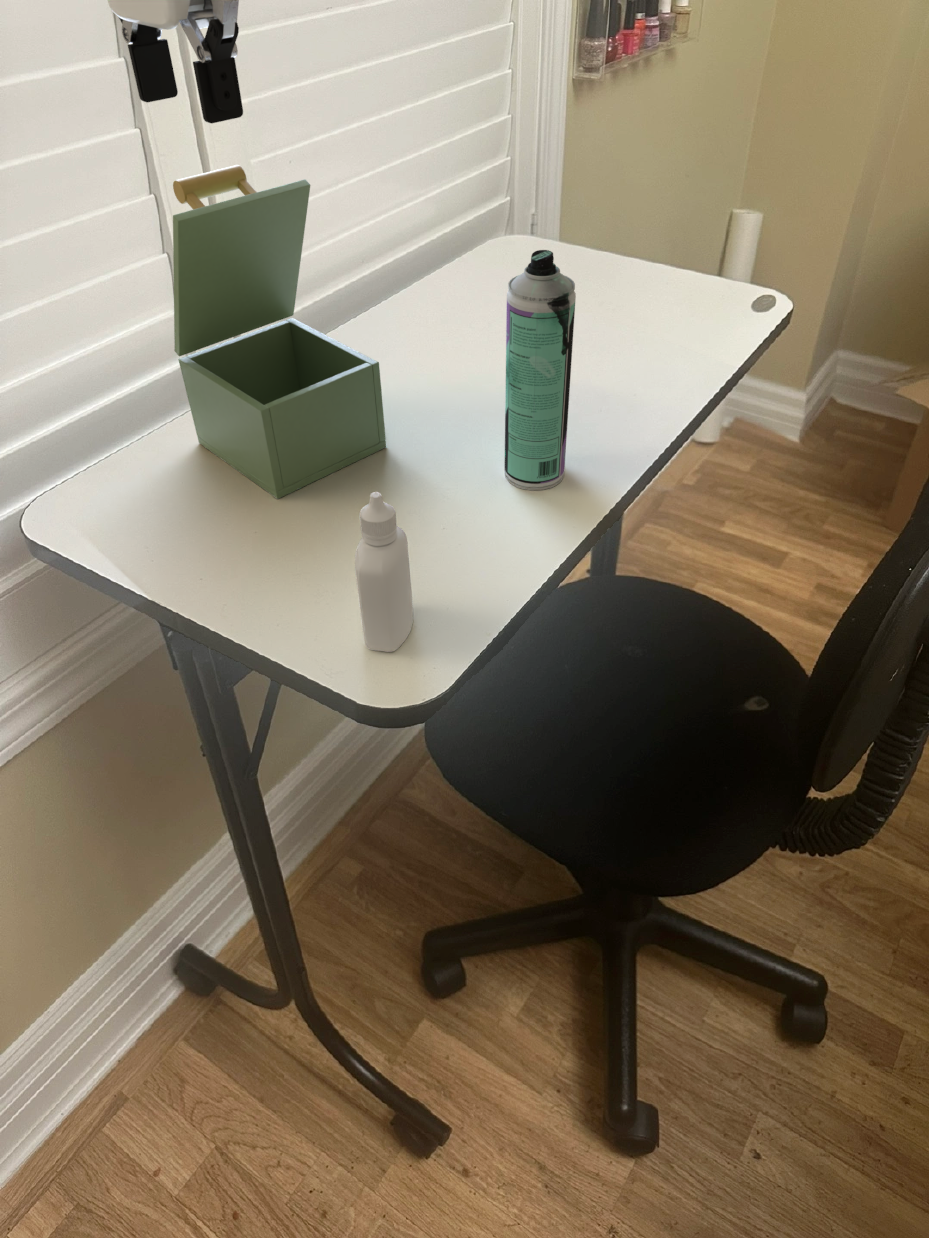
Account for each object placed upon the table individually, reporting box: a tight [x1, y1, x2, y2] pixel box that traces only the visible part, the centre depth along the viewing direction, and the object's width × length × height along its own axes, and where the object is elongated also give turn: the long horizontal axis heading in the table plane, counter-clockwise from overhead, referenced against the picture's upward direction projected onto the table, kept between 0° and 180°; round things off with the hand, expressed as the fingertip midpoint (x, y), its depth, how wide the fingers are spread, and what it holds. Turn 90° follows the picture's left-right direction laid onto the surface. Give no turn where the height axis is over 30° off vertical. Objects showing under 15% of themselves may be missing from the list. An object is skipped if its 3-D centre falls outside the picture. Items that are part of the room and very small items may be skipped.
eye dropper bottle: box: [354, 491, 414, 653], centre depth 64 cm, size 4×6×12 cm
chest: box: [178, 317, 387, 500], centre depth 85 cm, size 14×13×9 cm
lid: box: [172, 164, 311, 357], centre depth 80 cm, size 14×13×6 cm
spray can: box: [504, 249, 577, 491], centre depth 76 cm, size 6×6×20 cm
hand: (190, 109), depth 71 cm, fingers open, 9 cm apart
